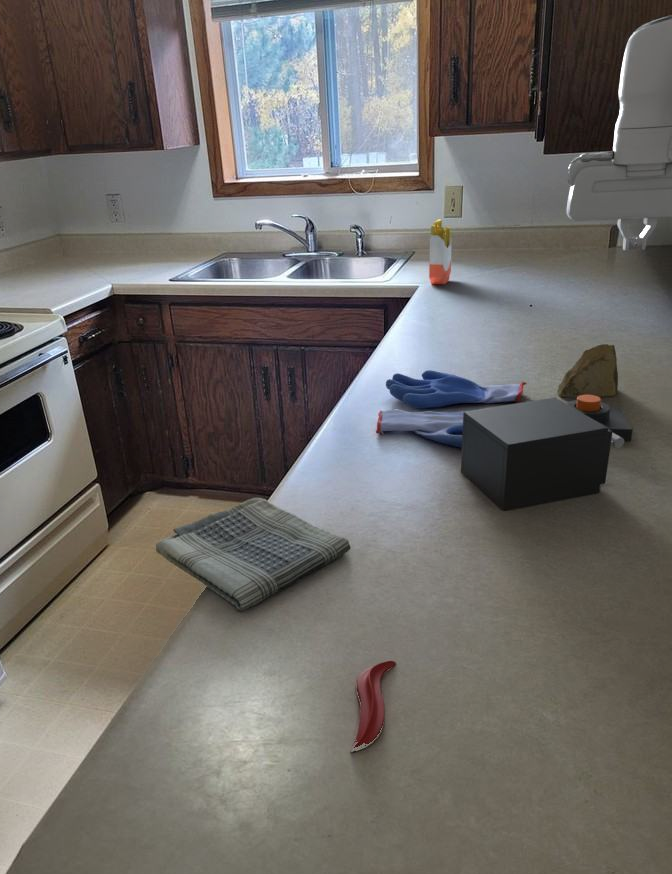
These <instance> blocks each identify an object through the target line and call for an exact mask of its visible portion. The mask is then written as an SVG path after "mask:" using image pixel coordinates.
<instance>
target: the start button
mask: <svg viewBox="0 0 672 874" xmlns="http://www.w3.org/2000/svg"><path fill="white" fill-rule="evenodd" d="M576 400H577V404H576V408H577V409H579V410H583V411H598V410H600V403H601V402H602V398H601V397H598V396H595V395H580V396H578V397H576Z"/></svg>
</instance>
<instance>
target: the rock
mask: <svg viewBox="0 0 672 874" xmlns="http://www.w3.org/2000/svg"><path fill="white" fill-rule="evenodd" d="M615 347H616V346H615V344H608V343H607V344H605V343H603V344H599V345H596V346H593V347H592V348H588V349H586V350H584V351H583V353H582V355H581V356H580V357H579V359H578V360H577V361H576V362H575V364H574V365H572V367H571V368H570V369H569V370H567V371H566V372H565V374H564V377H563V378H562V380H561V381H560V383H559V385H558V387H557V388H558V389H557V390H556V393H557V394H558V396H559V397H561V398H577V397H578V396H580V395H595V396H598V397H600V398H601V397H614V396H615V395H617V394H618V387H619V371H618V364H617V352H616V348H615Z"/></svg>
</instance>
